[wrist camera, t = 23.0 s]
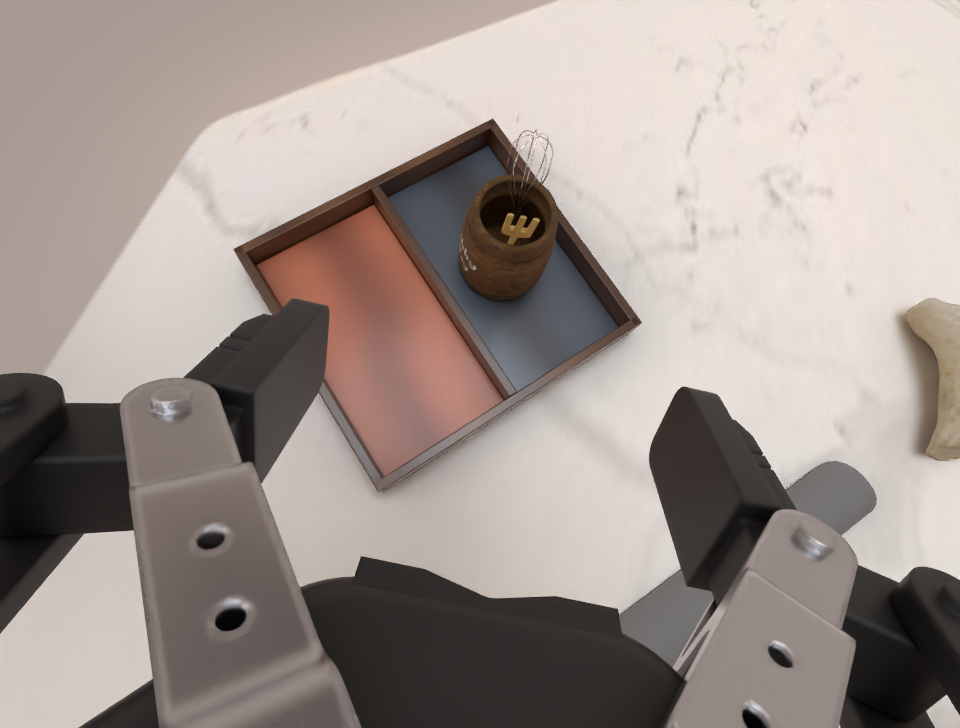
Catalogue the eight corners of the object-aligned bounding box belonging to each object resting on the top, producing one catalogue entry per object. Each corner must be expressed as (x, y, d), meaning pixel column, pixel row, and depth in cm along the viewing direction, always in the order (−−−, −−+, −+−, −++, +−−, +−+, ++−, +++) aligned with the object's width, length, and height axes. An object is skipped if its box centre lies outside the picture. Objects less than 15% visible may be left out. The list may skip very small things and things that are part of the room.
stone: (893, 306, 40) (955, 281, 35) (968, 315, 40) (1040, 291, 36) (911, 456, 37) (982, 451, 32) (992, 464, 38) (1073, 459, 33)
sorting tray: (382, 492, 33) (378, 492, 31) (246, 266, 36) (232, 248, 33) (628, 334, 37) (642, 322, 35) (489, 141, 40) (493, 118, 38)
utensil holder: (546, 232, 38) (597, 116, 26) (535, 314, 36) (585, 229, 25) (464, 218, 37) (480, 93, 26) (450, 300, 36) (460, 206, 24)
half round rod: (869, 510, 36) (891, 511, 34) (645, 689, 32) (657, 700, 30) (829, 456, 36) (849, 455, 35) (605, 625, 33) (615, 632, 31)
